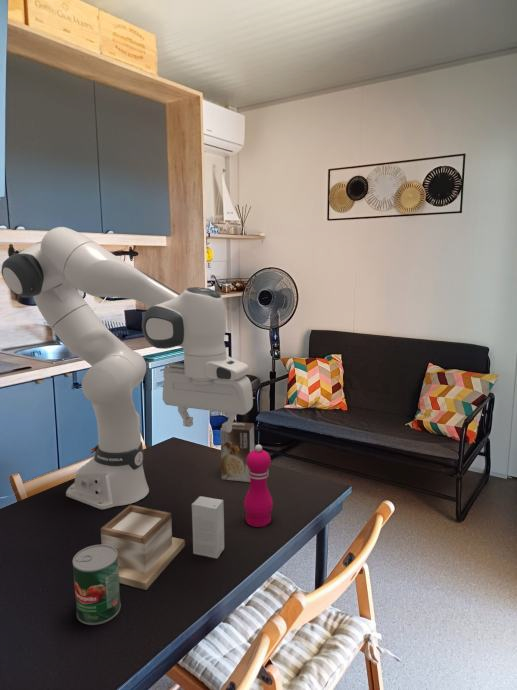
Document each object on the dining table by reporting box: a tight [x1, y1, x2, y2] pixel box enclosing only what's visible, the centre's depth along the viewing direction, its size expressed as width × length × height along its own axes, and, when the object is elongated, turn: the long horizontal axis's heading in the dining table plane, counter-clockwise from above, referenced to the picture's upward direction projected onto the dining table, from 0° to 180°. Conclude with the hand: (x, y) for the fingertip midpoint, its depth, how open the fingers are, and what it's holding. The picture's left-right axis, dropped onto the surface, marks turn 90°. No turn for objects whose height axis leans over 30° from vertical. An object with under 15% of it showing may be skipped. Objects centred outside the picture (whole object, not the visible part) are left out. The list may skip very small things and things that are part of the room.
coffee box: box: [220, 420, 255, 483], centre depth 146 cm, size 9×6×16 cm
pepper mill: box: [243, 444, 274, 528], centre depth 122 cm, size 7×7×20 cm
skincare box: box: [191, 495, 225, 559], centre depth 110 cm, size 6×4×12 cm
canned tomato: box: [72, 544, 122, 626], centre depth 92 cm, size 8×8×11 cm
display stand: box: [100, 504, 186, 591], centre depth 107 cm, size 14×16×9 cm
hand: (207, 428), depth 106 cm, fingers open, 8 cm apart
